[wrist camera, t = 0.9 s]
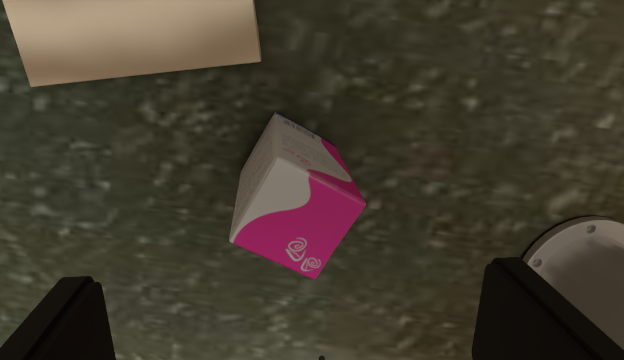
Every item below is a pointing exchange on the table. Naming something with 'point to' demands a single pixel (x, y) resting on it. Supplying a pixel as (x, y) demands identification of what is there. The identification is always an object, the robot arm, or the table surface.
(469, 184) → the table surface
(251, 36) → the birch plinth
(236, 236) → the supplement box
